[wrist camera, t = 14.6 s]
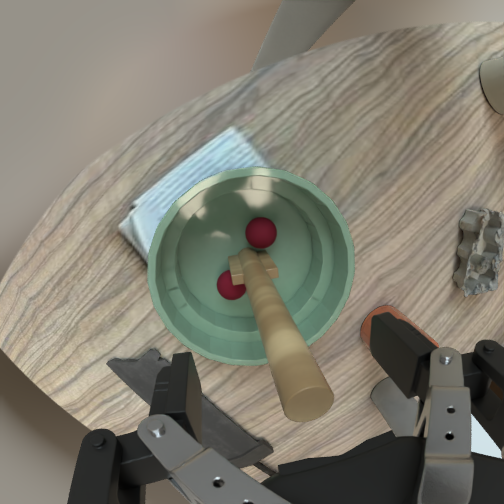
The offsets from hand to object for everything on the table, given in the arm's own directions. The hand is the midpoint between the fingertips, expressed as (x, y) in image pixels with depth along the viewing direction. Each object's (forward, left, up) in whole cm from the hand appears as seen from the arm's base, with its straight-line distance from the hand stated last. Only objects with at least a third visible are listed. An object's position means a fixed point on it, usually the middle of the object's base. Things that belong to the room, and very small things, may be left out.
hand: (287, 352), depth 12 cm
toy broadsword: (+24, -6, -15) cm, 29 cm away
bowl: (0, 0, -15) cm, 15 cm away
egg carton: (+4, +29, -15) cm, 33 cm away
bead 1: (+2, -2, -13) cm, 14 cm away
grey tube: (+22, +16, -15) cm, 31 cm away
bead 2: (-2, +1, -13) cm, 14 cm away
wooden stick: (0, 0, -15) cm, 15 cm away
